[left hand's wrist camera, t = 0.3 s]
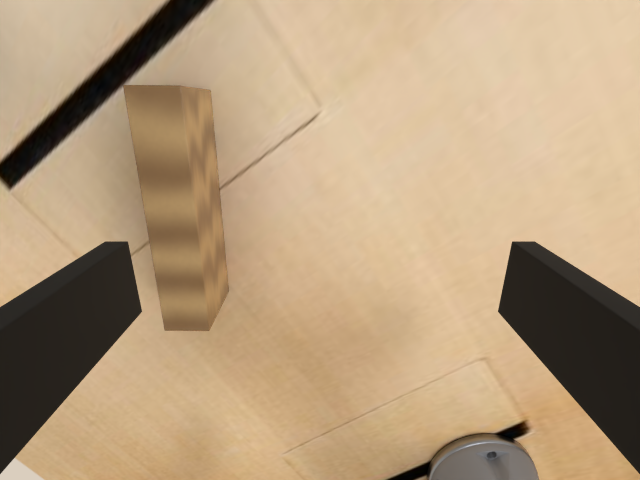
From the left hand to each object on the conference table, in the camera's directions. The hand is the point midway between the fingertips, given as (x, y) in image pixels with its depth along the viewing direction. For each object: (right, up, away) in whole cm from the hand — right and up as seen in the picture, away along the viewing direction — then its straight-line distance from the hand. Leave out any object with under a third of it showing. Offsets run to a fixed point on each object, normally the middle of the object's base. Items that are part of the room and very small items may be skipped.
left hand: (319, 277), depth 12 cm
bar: (-13, +6, +26) cm, 30 cm away
